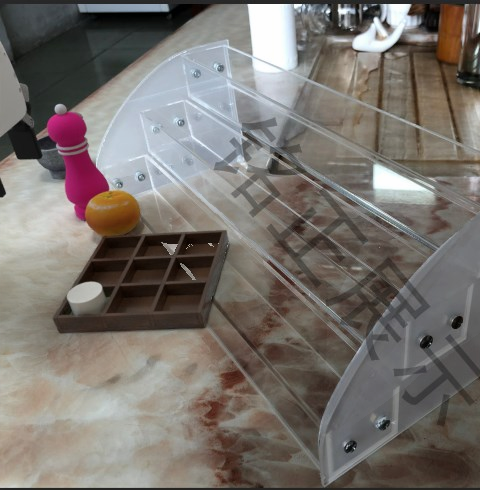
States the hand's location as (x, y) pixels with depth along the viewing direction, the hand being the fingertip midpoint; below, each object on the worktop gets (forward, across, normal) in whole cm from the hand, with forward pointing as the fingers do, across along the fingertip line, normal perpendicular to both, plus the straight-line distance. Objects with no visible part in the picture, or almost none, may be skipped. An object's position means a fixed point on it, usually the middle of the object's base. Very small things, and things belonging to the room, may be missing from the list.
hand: (12, 176), depth 72 cm
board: (+20, -5, +11) cm, 24 cm away
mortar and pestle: (+22, -44, -17) cm, 52 cm away
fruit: (+21, -20, +1) cm, 29 cm away
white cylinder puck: (+20, +2, +5) cm, 21 cm away
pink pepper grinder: (+21, -27, -5) cm, 35 cm away
